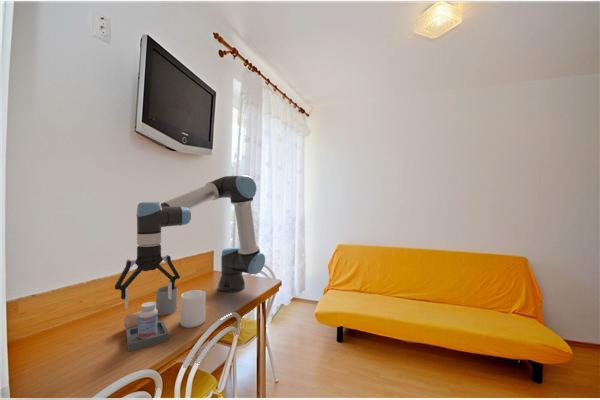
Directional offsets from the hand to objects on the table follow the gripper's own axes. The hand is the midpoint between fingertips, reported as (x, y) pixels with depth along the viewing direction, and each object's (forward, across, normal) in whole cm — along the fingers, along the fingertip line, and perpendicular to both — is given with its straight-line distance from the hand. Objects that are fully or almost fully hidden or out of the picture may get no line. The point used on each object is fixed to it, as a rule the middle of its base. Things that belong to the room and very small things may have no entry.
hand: (149, 302), depth 92 cm
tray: (+13, +1, 0) cm, 13 cm away
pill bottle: (+12, 0, 0) cm, 12 cm away
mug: (+13, -15, -4) cm, 21 cm away
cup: (+13, -9, -21) cm, 26 cm away
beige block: (+13, +3, -11) cm, 17 cm away
